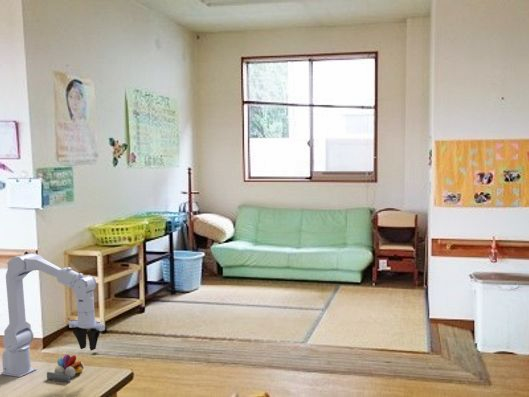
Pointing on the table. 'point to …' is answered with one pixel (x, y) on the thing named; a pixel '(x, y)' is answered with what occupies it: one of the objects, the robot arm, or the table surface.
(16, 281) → the robot arm
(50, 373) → the rail
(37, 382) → the table surface
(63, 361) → the rainbow disc baby rattle
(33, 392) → the table surface
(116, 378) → the table surface
